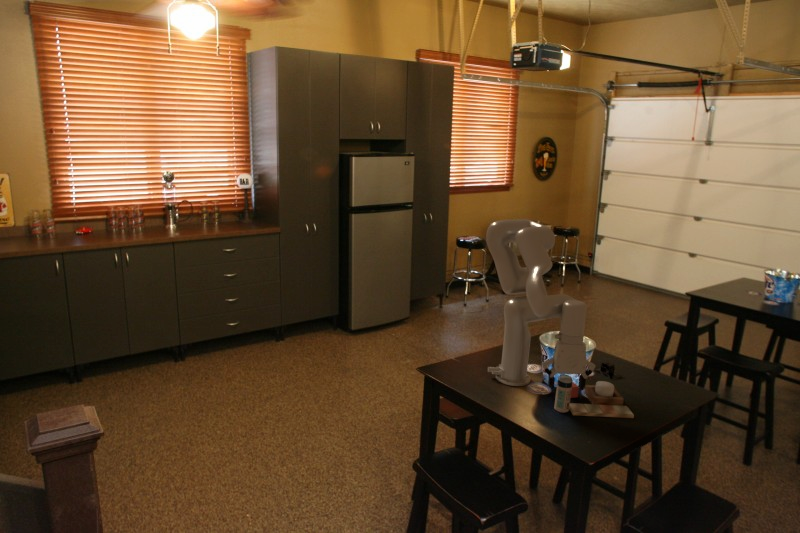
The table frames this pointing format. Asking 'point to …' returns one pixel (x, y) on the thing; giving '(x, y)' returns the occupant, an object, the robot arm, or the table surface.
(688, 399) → the table surface
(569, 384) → the spice shaker bottle
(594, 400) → the square wooden tray
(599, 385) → the white squat cylinder
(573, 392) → the die
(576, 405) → the board
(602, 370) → the black irregular block
